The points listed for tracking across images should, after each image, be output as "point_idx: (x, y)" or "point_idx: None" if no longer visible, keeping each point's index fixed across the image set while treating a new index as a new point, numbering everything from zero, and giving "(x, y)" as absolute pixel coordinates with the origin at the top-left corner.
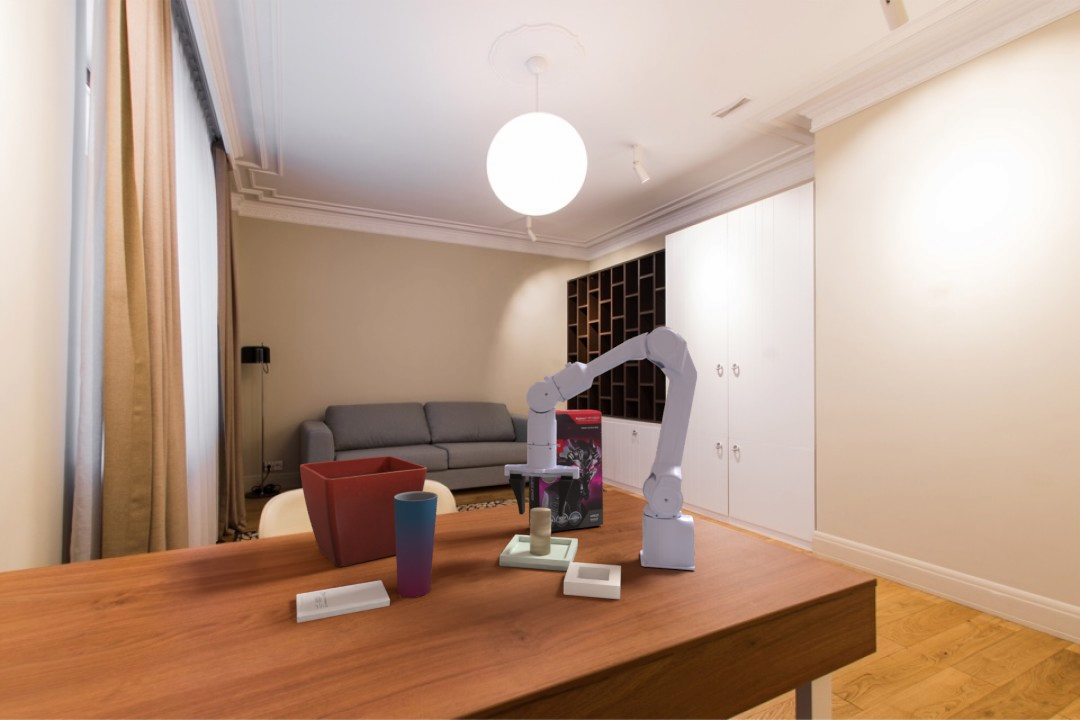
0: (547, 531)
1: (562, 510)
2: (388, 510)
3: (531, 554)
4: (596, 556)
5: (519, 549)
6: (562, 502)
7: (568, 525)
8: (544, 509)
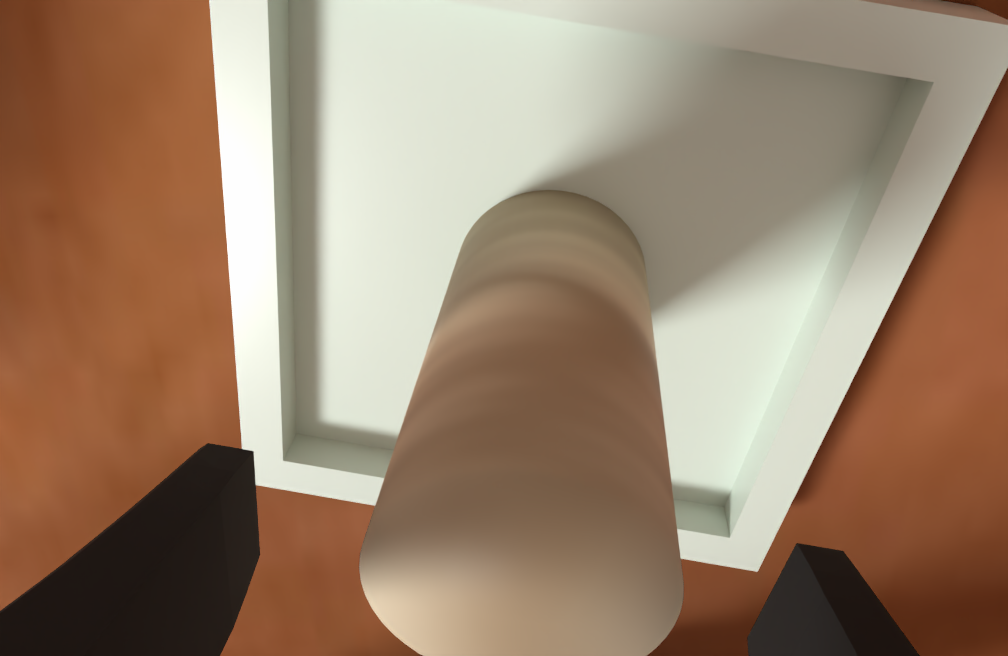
0: (449, 330)
1: (142, 498)
2: None
3: (632, 219)
4: (96, 272)
5: (738, 338)
6: (51, 600)
7: None
8: (462, 616)
